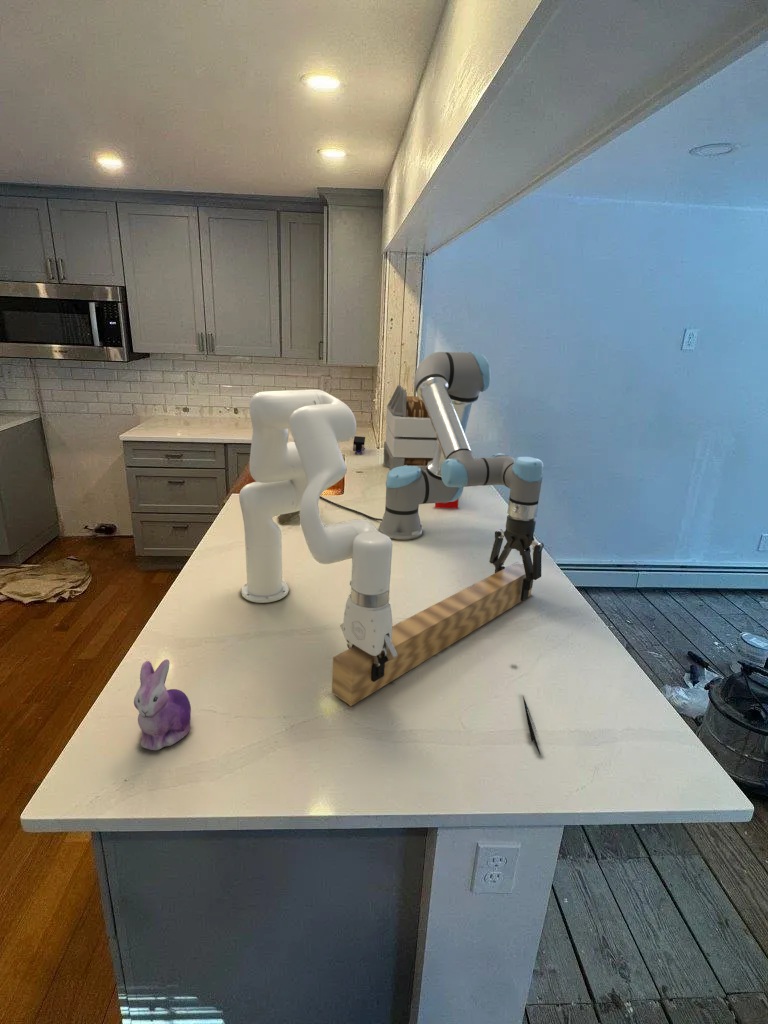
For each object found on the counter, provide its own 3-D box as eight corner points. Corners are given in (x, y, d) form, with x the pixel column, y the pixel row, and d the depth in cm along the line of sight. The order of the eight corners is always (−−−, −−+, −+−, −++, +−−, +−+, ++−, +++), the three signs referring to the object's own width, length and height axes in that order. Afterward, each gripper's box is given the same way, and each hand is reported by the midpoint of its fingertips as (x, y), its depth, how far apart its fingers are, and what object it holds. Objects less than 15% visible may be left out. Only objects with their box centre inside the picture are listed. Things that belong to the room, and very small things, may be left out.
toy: (452, 466, 252) (464, 476, 223) (451, 496, 255) (462, 509, 226) (425, 465, 252) (433, 475, 222) (424, 495, 254) (431, 508, 225)
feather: (514, 670, 128) (520, 664, 128) (540, 759, 101) (547, 752, 101) (508, 666, 128) (514, 660, 127) (532, 755, 101) (539, 747, 101)
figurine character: (364, 457, 303) (365, 448, 317) (365, 444, 300) (365, 435, 313) (352, 457, 303) (353, 447, 316) (352, 444, 300) (353, 434, 313)
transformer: (382, 463, 289) (386, 382, 275) (445, 464, 293) (451, 384, 279) (390, 482, 257) (394, 392, 243) (460, 483, 261) (468, 394, 247)
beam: (513, 588, 164) (517, 561, 161) (530, 595, 160) (535, 568, 157) (331, 692, 116) (332, 656, 113) (351, 706, 112) (352, 669, 109)
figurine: (141, 761, 97) (132, 687, 92) (135, 723, 105) (126, 654, 100) (198, 744, 101) (192, 673, 96) (188, 709, 110) (182, 642, 104)
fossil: (282, 494, 222) (311, 473, 217) (298, 512, 225) (327, 492, 220) (267, 519, 202) (298, 497, 198) (285, 538, 205) (316, 517, 200)
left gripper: (326, 584, 114) (325, 660, 120) (389, 618, 103) (383, 699, 109) (353, 573, 119) (350, 646, 125) (415, 604, 108) (409, 683, 115)
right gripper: (481, 509, 153) (473, 585, 160) (549, 530, 140) (537, 612, 148) (496, 503, 158) (487, 577, 166) (564, 523, 145) (551, 602, 153)
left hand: (366, 670), depth 117 cm, fingers closed on beam, 5 cm apart
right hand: (511, 593), depth 157 cm, fingers open, 7 cm apart
